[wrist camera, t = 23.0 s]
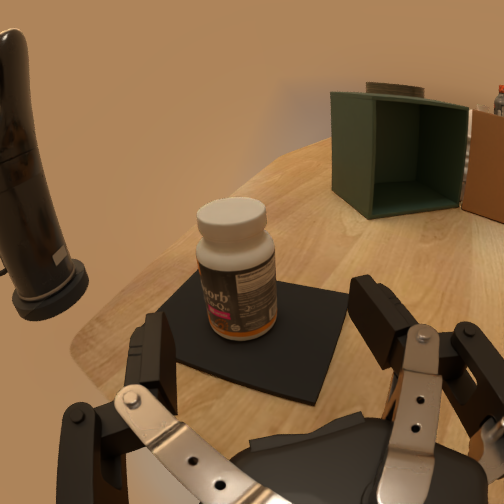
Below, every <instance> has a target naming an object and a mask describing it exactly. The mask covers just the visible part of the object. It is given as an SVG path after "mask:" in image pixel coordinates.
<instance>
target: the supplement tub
mask: <svg viewBox="0 0 504 504" xmlns="http://www.w3.org/2000/svg"><path fill="white" fill-rule="evenodd" d="M494 114H495V115H498V116H502V117H504V85H499V95H498V96H497V97H496V99H495V101H494Z"/></svg>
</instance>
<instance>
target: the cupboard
mask: <svg viewBox="0 0 504 504" xmlns="http://www.w3.org/2000/svg"><path fill="white" fill-rule="evenodd" d="M330 95H331V96H330V98H331V128H332V190H333V191H334V192H335V193H336V194H338V195H339V196H340V197H341V198H343V199H344V200H345V201H346V202H348V203H349V204H350V205H351V206H352V207H354V208H355V209H356V210H357V211H358V212H360V213H361V214H362V215H363V216H364V217H366V218H367V219H375V218H382V217H389V216H396V215H404V214H411V213H418V212H425V211H433V210H440V209H448V208H455V207H459V202H460V196H461V190H462V183H463V176H464V168H465V159H466V150H467V138H468V122H469V107H465V106H460V105H456V104H451V103H445V102H441V101H436V100H430V99H424V98H418V97H409V96H400V95H389V94H375V93H358V92H330Z"/></svg>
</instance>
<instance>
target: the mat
mask: <svg viewBox="0 0 504 504" xmlns="http://www.w3.org/2000/svg"><path fill="white" fill-rule="evenodd" d="M276 289H277V317H276V321H275V323H274V325H273V326H272V328H271V329H270V330H268V331H267V332H266V333H265V334H264V335H262V336H260V337H257V338H255V339H251V340H246V341H236V340H230V339H227V338H224V337H222V336H220V335H219V334H217V333H216V332H215V331H214V330H213V328H212V327H211V325H210V322H209V318H208V313H207V308H206V303H205V299H204V293H203V289H202V284H201V279H200V274H199V269H198V270H197V271H196V272H195V273H194V274H193V275H192V276H191V277H190V278H189V279H188V280H187V281H186V282H185V283H184V284H183V285H182V286H181V287H180V288H179V289H178V290H177V291H176V292H175V293H174V294H173V295H172V296H171V297H170V298H169V299H168V300H167V301H166V302H165V303H164V304H163V305H162V306H161V307H160V308H159V309H158V310H157V311H156V312H162V311H164V312H165V314H166V317H167V320H168V323H169V326H170V329H171V332H172V335H173V337H174V341H175V347H176V361H177V362H180V363H182V364H185V365H187V366H190V367H192V368H195V369H198V370H200V371H203V372H206V373H208V374H211V375H214V376H217V377H220V378H222V379H225V380H228V381H231V382H234V383H237V384H240V385H243V386H246V387H249V388H252V389H256V390H259V391H262V392H265V393H269V394H272V395H276V396H279V397H283V398H286V399H290V400H293V401H297V402H301V403H305V404H309V405H313V406H314V405H315V403H316V401H317V398H318V395H319V393H320V390H321V387H322V385H323V382H324V379H325V376H326V374H327V371H328V368H329V365H330V362H331V359H332V356H333V353H334V350H335V347H336V344H337V341H338V338H339V335H340V332H341V328H342V325H343V322H344V319H345V315H346V312H347V308H348V298H349V294H347V293H341V292H336V291H330V290H324V289H319V288H313V287H308V286H303V285H297V284H292V283H287V282H281V281H276ZM141 327H145V323H144V324H143V325H142V326H141Z"/></svg>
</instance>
